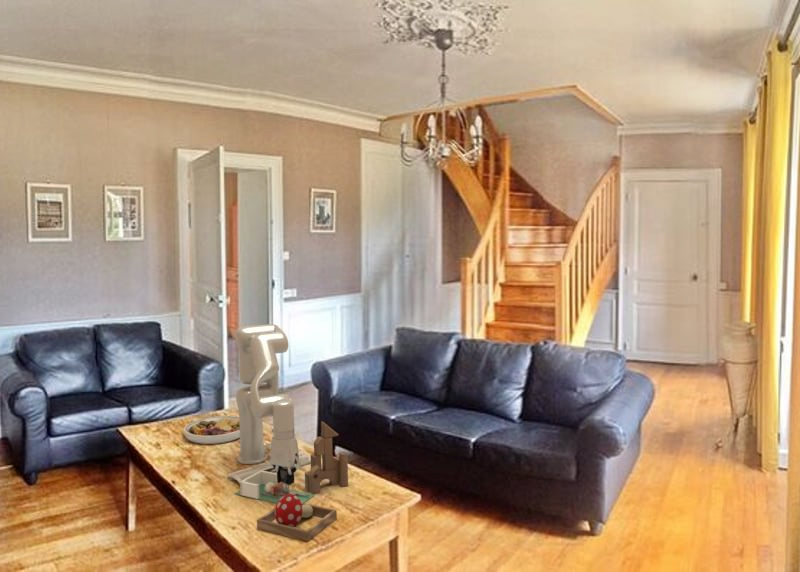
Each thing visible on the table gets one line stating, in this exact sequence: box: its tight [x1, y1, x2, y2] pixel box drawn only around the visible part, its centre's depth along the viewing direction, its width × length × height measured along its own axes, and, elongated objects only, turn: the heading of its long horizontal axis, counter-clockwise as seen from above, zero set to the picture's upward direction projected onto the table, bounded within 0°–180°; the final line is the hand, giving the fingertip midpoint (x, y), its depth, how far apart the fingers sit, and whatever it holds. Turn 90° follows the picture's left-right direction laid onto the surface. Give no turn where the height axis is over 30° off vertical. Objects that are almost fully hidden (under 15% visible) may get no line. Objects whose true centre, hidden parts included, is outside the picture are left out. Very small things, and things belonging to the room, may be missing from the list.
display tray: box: [256, 502, 337, 542], centre depth 209 cm, size 17×20×3 cm
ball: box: [265, 482, 275, 493], centre depth 233 cm, size 4×4×4 cm
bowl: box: [183, 415, 240, 445], centre depth 300 cm, size 30×30×8 cm
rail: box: [261, 489, 312, 503], centre depth 230 cm, size 6×18×1 cm, turn 64°
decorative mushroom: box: [274, 494, 313, 528], centre depth 210 cm, size 11×11×15 cm
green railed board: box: [234, 484, 316, 504], centre depth 232 cm, size 11×28×1 cm, turn 64°
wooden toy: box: [304, 421, 349, 495], centre depth 237 cm, size 16×7×25 cm, turn 120°
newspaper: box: [226, 448, 311, 486], centre depth 256 cm, size 35×12×4 cm, turn 134°
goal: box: [239, 470, 277, 500], centre depth 235 cm, size 12×8×5 cm, turn 154°
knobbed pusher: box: [271, 467, 297, 496], centre depth 230 cm, size 6×8×10 cm
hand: (285, 482), depth 229 cm, fingers closed on knobbed pusher, 3 cm apart
